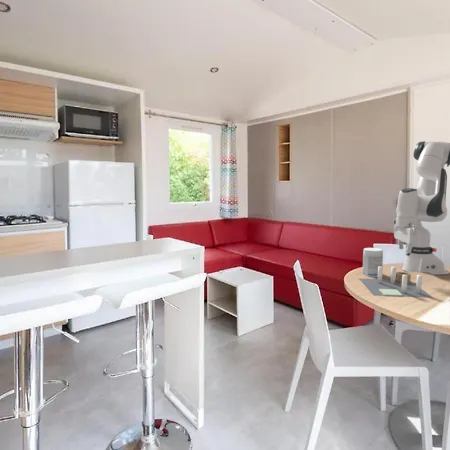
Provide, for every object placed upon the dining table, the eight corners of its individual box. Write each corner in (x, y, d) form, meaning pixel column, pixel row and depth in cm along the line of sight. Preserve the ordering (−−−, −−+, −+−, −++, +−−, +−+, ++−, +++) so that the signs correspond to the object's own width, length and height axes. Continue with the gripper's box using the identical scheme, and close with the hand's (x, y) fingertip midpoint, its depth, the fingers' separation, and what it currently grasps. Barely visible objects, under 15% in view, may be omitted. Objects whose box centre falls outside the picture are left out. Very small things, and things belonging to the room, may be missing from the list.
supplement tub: (385, 277, 177) (387, 249, 176) (375, 280, 172) (376, 251, 170) (369, 273, 185) (370, 246, 184) (358, 275, 180) (359, 248, 178)
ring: (406, 279, 168) (407, 272, 167) (411, 283, 162) (412, 275, 161) (394, 279, 169) (394, 271, 168) (398, 283, 163) (399, 275, 162)
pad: (396, 290, 151) (396, 289, 151) (402, 296, 144) (402, 294, 144) (378, 290, 153) (378, 288, 152) (384, 295, 145) (384, 294, 145)
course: (408, 282, 168) (410, 264, 167) (433, 300, 142) (434, 279, 141) (358, 280, 171) (359, 263, 170) (373, 298, 146) (374, 277, 144)
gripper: (423, 225, 151) (420, 255, 153) (405, 220, 171) (403, 247, 173) (408, 225, 152) (406, 255, 153) (392, 220, 172) (390, 246, 174)
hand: (404, 250), depth 163 cm, fingers open, 8 cm apart
